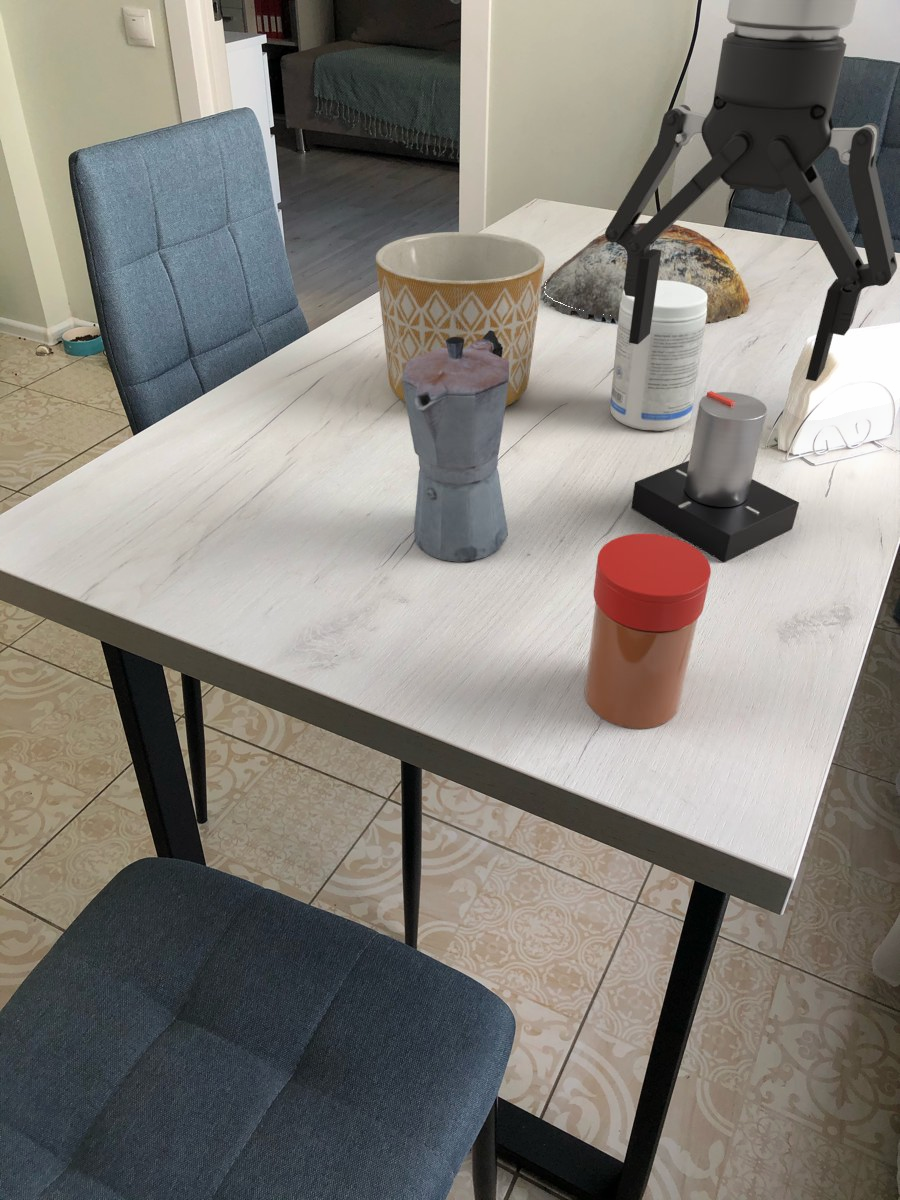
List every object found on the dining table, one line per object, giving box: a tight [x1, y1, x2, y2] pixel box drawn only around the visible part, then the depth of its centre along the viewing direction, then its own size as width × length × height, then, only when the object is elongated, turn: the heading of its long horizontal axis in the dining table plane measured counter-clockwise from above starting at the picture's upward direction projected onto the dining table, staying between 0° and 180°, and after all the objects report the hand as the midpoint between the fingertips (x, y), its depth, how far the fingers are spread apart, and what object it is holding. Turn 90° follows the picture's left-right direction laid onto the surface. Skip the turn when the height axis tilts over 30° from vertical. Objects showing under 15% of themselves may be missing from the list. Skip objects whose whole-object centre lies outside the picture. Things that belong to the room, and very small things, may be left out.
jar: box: [584, 602, 698, 730], centre depth 68 cm, size 7×7×12 cm
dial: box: [685, 390, 768, 507], centre depth 88 cm, size 6×6×9 cm
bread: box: [539, 222, 750, 325], centre depth 143 cm, size 27×32×10 cm
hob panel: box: [630, 460, 800, 563], centre depth 92 cm, size 12×10×3 cm
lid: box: [593, 533, 712, 632], centre depth 65 cm, size 8×8×3 cm
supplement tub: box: [609, 280, 708, 432], centre depth 107 cm, size 10×10×15 cm
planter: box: [375, 231, 546, 408], centre depth 112 cm, size 19×19×16 cm
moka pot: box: [402, 330, 509, 563], centre depth 84 cm, size 10×15×20 cm, turn 157°
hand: (723, 355), depth 71 cm, fingers open, 13 cm apart
